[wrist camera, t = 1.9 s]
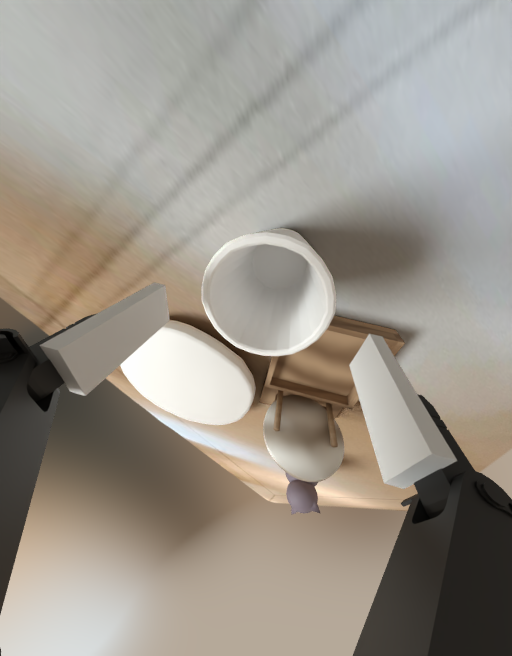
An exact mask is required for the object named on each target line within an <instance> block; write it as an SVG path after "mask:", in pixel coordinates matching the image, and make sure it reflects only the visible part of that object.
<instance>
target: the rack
mask: <svg viewBox="0 0 512 656" xmlns="http://www.w3.org/2000/svg"><path fill="white" fill-rule="evenodd" d="M369 334H373V335H377V336H382V337H383V339H384V340H385V342H386V344H387V345H388V347H389V349H390V350H391V352H392V353H393V355H394V356H395V355H396V354H397V352H398V351H399V350H400V349H401V347H402V346H403V345H404V344H405V342H404V341H403V340H402V338H401V337H400V335H399V334H398V333H397V331H396V330H394V329H390V328H386V327H381V326H377V325H373V324H368V323H364V322H360V321H356V320H351V319H347V318H343V317H338V316H333V319H332V321H331V323H330V325H329V327H328V328H327V329H326V331H325V332H324V333H323V334H322V336H321V337H320V338H319V339H318V340H317V341H315V342H314V343H313V344H311V345H310V346H308V347H307V348H305V349H303V350H301V351H299V352H296V353H294V354H290V355H283V356H272V358H271V361H270V365H269V368H268V372H267V375H266V379H265V383H264V386H263V390H262V393H261V397H260V401H259V402H260V403H264V404H268V405H271V406H270V407H269V409H268V411H267V413H266V416H265V419H264V424H263V434H264V440H265V443H266V446H267V449H268V451H269V453H270V455H271V456H272V458H273V459H274V461H275V462H276V463H277V464H278V465H279V467H281V468H282V469H283V470H284V471H285V472H286V473H288V474H289V475H291V476H293V477H294V478H297V479H299V480H302V481H306V482H319V481H323V480H325V479H327V478H329V477H330V476H331V475H333V474H334V473H335V472H336V471H337V470H338V468H339V467H340V465H341V463H342V460H343V457H344V441H343V436H342V433H341V431H340V428H339V426H338V424H337V423H336V421H335V420H334V419H335V418H336V417H337V415H338V414H339V413H340V411H341V410H342V409H343V407H345V408H349V409H352V408H353V406H354V405H355V404H356V403H357V401H358V400H359V397H358V393H357V390H356V386H355V383H354V380H353V376H352V373H351V370H350V366H349V365H350V363H351V362H352V360H353V359H354V357H355V356H356V354H357V352H358V351H359V349H360V348H361V346H362V344H363V343H364V341H365V340H366V338H367V337H368V335H369Z"/></svg>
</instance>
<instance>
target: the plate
mask: <svg viewBox="0 0 512 656" xmlns="http://www.w3.org/2000/svg"><path fill="white" fill-rule="evenodd" d="M120 366H121V368H122V370H123V372H124V374H125V375H126V377H127V378H128V380H129V381H130V383H131V384H132V385H133V386H134V387H135V388H136V389H137V390H138V391H139V392H140V393H141V394H142V395H143V396H144V397H145V398H147V399H148V400H150V401H151V402H152V403H154V404H155V405H157V406H158V407H160V408H162V409H164V410H165V411H167V412H170V413H172V414H174V415H176V416H179V417H181V418H184V419H187V420H190V421H193V422H198V423H203V424H211V425H226V424H229V423H233V422H236V421H238V420H239V419H241V418H243V417H244V415H245V414H246V413H247V412H248V411H249V409H250V407H251V404H252V402H253V400H254V395H255V390H256V386H255V382H254V378H253V375H252V373H251V372H250V370H249V369H248V367H247V365H246V364H245V362H244V361H243V359H242V358H241V357H239V356H238V355H237V354H235V353H234V352H233V351H232V350H230V349H229V348H228V347H226V346H225V345H224V344H222V343H221V342H219V341H218V340H216V339H215V338H213V337H212V336H210V335H208V334H206V333H204V332H202V331H200V330H199V329H197V328H195V327H193V326H191V325H188V324H185V323H182V322H179V321H173V320H169V321H168V322H167V323H166V324H165V325H164V326H163V327H162V328H161V329H159V330H158V331H157V332H156V333H155V334H154V335H153V336H152V337H151V338H149V339H148V340H147V341H146V342H145V343H144V344H143V345H142V346H141V347H139V348H138V349H137V350H136V351H135V352H134V353H133V354H132V355H131V356H129V357H128V358H127V359H126V360H125V361H124V362H123V363H122V364H120Z"/></svg>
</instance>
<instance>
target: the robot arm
mask: <svg viewBox="0 0 512 656" xmlns="http://www.w3.org/2000/svg"><path fill="white" fill-rule="evenodd" d="M169 320H170V319H169V311H168V303H167V295H166V287H165V285H162V284H158V283H153V284H151V285H149V286H147V287H145V288H143V289H142V290H140V291H138V292H136V293H134V294H132V295H131V296H129V297H127V298H125V299H123V300H121V301H120V302H118V303H116V304H114V305H112V306H111V307H109V308H107V309H105V310H103V311H101V312H100V313H97V314H94V315H91V316H87V317H85V318H83V319H81V320H79V321H77V322H75V324H72V325H70V326H68V327H66V329H62V330H60V331H58V332H56V333H55V334H53V335H51V336H49V337H47V338H45V339H43V340H41V341H40V342H38V343H36V344H34V345H32V346H30V347H28V345H27V344H26V343H25V341H24V340H23V339H22V337H21V335H20V334H19V333H18V332H17V331H16V330H13V329H0V613H1V610H2V606H3V602H4V599H5V595H6V591H7V588H8V583H9V580H10V576H11V573H12V569H13V565H14V562H15V558H16V554H17V551H18V547H19V543H20V540H21V536H22V532H23V529H24V525H25V521H26V517H27V514H28V510H29V506H30V503H31V499H32V495H33V492H34V488H35V484H36V481H37V477H38V473H39V470H40V466H41V462H42V458H43V455H44V451H45V447H46V444H47V440H48V436H49V433H50V428H51V425H52V422H53V418H54V414H55V410H56V407H57V403H58V399H59V396H60V390H59V389H58V387H60V386H61V385H62V384H64V383H65V384H66V386H67V387H68V389H69V390H70V391H71V392H74V393H77V394H81V395H84V396H86V395H87V394H88V393H89V392H90V391H91V390H93V389H94V388H95V387H96V386H97V385H98V384H99V383H100V382H102V381H103V380H104V379H105V378H106V377H107V376H108V375H109V374H110V373H112V372H113V371H114V370H115V369H116V368H117V367H118V366H119V365H120V364H122V363H123V362H124V361H125V360H126V359H127V358H128V357H129V356H131V355H132V354H133V353H134V352H135V351H136V350H137V349H138V348H139V347H141V346H142V345H143V344H144V343H145V342H146V341H147V340H148V339H149V338H151V337H152V336H153V335H154V334H155V333H156V332H157V331H158V330H159V329H161V328H162V327H163V326H164V325H165V324H166V323H167V322H168V321H169ZM349 366H350V370H351V373H352V376H353V380H354V383H355V386H356V390H357V393H358V397H359V400H360V403H361V407H362V410H363V413H364V417H365V420H366V424H367V427H368V430H369V434H370V437H371V440H372V444H373V447H374V451H375V454H376V457H377V461H378V464H379V467H380V471H381V474H382V478H383V481H384V483H385V484H389V485H392V486H395V487H399V488H402V489H405V488H407V487H409V486H411V485H412V484H414V485H415V487H416V490H417V492H418V494H416V495H414V496H412V497H410V498H408V499H405V500H404V501H403V502H402V503H401V505H402V506H403V507H404V506H406V505H409V504H410V506H409V509H408V512H407V514H406V517H405V520H404V522H403V525H402V528H401V530H400V533H399V535H398V538H397V541H396V543H395V546H394V549H393V551H392V554H391V557H390V559H389V562H388V564H387V567H386V570H385V572H384V575H383V577H382V580H381V583H380V585H379V588H378V590H377V593H376V596H375V598H374V601H373V604H372V606H371V609H370V612H369V614H368V617H367V619H366V622H365V625H364V627H363V630H362V633H361V635H360V638H359V640H358V643H357V646H356V649H355V651H354V654H353V656H512V499H511V498H510V497H509V496H508V495H507V494H506V492H505V491H504V490H503V489H502V488H501V487H499V486H498V485H497V484H496V483H495V482H494V481H492V480H491V479H490V478H488V477H486V476H485V475H483V474H482V473H479V472H476V471H475V470H474V469H473V467H472V466H471V464H470V463H469V461H468V459H467V458H466V456H465V455H464V453H463V452H462V450H461V449H460V447H459V446H458V444H457V442H456V441H455V439H454V438H453V436H452V435H451V433H450V432H449V430H447V427H446V425H445V424H444V422H443V421H442V420H440V416H439V415H438V413H437V412H436V410H435V408H434V407H433V406H432V405H431V404H430V403H429V402H428V401H427V400H426V399H425V398H424V397H423V396H422V395H418V394H417V393H416V391H415V390H414V388H413V387H412V385H411V383H410V382H409V380H408V378H407V377H406V375H405V373H404V372H403V370H402V368H401V367H400V365H399V363H398V362H397V360H396V358H395V357H394V355H393V353H392V352H391V350H390V349H389V347H388V345H387V344H386V342H385V340H384V339H383V337H382V336H377V335H373V334H369V335H368V337H367V338H366V340H365V341H364V343H363V344H362V346H361V348H360V349H359V351H358V352H357V354H356V356H355V357H354V359H353V360H352V362H351V363H350V365H349ZM0 656H1V649H0Z"/></svg>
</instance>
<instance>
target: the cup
mask: <svg viewBox="0 0 512 656" xmlns="http://www.w3.org/2000/svg"><path fill="white" fill-rule="evenodd" d="M202 303H203V305H204V308H205V311H206V314H207V316H208V318H209V319H210V321H211V323H212V324H213V326H214V328H215V329H216V330H217V331H218V332H219V333H220V334H221V335H222V336H223V337H224V338H225V339H226V340H227V341H229V342H230V343H231V344H233V345H234V346H235V347H237V348H240V349H242V350H245V351H247V352H250V353H254V354H258V355H262V356H283V355H290V354H294V353H296V352H299V351H301V350H303V349H305V348H307V347H308V346H310V345H311V344H313V343H314V342H315V341H317V340H318V339H319V338H320V337H321V336H322V334H323V333H324V332H325V331H326V329H327V328H328V327H329V325H330V323H331V321H332V319H333V316H334V314H335V311H336V291H335V286H334V281H333V277H332V275H331V273H330V272H329V270H328V268H327V266H326V265H325V263H324V261H323V260H322V258H321V257H320V256H319V255H318V254H317V253H316V252H315V250H314V249H313V248H312V247H311V246H310V245H309V244H308V243H307V241H306V240H305V239H304V238H303V237H302V236H301V235H300V234H299V233H297V232H295V231H293V230H290V229H284V228H278V229H271V230H266V231H261V232H257V233H252V234H247V235H244V236H241V237H239V238H236V239H234V240H231V241H228V242H227V243H226V244H225V245H224V246H223V247H222V248H221V249H220V250H219V251H218V252H217V253H216V254H215V255H214V256H213V258H212V259H211V261H210V263H209V264H208V266H207V268H206V269H205V274H204V278H203V282H202Z"/></svg>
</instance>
